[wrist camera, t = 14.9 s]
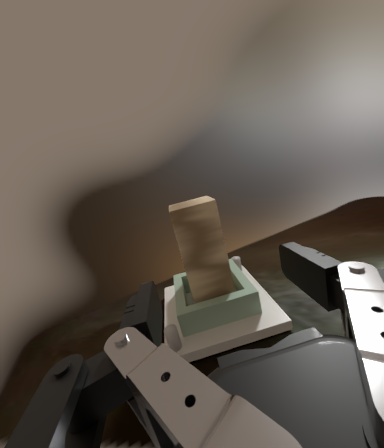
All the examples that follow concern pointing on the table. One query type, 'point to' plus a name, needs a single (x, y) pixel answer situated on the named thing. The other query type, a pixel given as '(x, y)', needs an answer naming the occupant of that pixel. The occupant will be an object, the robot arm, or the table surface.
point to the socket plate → (220, 316)
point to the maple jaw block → (202, 248)
